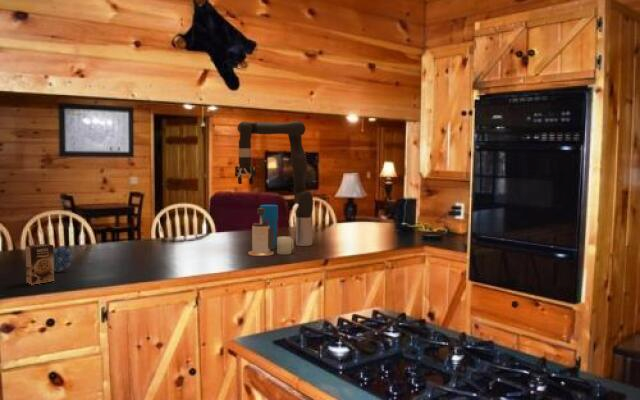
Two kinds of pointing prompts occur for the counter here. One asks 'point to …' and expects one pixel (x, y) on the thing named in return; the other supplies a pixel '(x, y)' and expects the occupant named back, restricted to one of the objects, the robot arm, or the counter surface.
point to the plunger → (261, 211)
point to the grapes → (61, 258)
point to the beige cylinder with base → (262, 240)
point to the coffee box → (39, 264)
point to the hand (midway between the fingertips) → (245, 184)
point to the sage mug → (284, 245)
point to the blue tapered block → (271, 219)
